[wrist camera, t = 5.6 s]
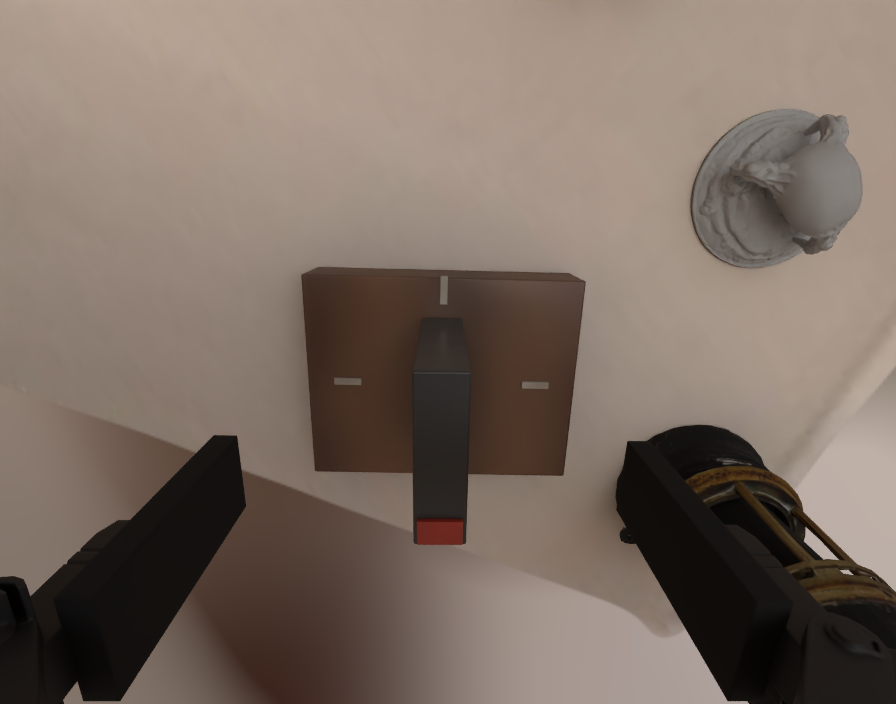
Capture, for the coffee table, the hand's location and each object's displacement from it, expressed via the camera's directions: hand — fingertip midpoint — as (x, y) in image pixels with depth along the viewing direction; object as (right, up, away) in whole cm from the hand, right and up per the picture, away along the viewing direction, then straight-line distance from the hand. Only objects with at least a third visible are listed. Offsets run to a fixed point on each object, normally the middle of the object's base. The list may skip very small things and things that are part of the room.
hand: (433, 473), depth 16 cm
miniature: (+17, +13, +9) cm, 23 cm away
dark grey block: (0, +2, +8) cm, 9 cm away
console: (0, +3, +11) cm, 12 cm away
